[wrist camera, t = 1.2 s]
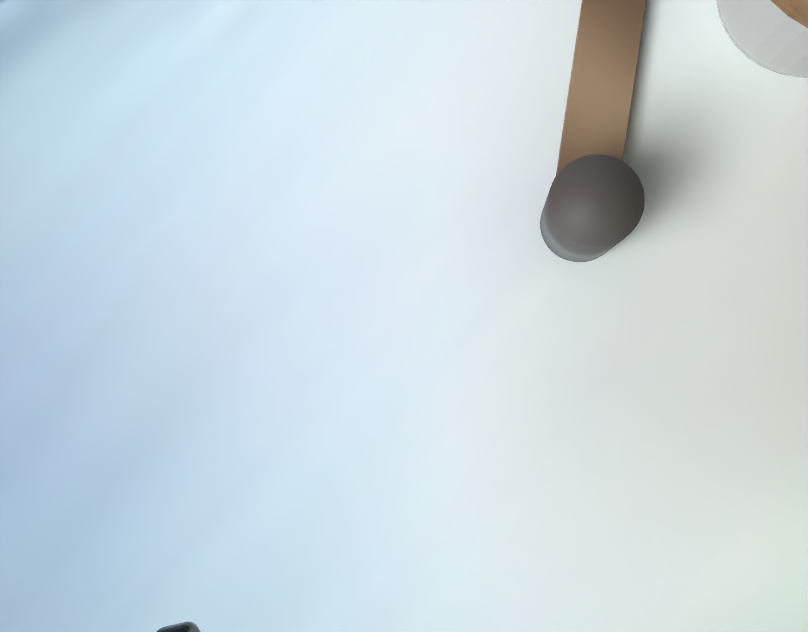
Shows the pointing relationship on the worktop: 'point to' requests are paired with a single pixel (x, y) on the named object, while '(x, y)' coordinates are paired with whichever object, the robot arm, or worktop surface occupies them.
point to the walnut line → (597, 137)
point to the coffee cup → (769, 32)
